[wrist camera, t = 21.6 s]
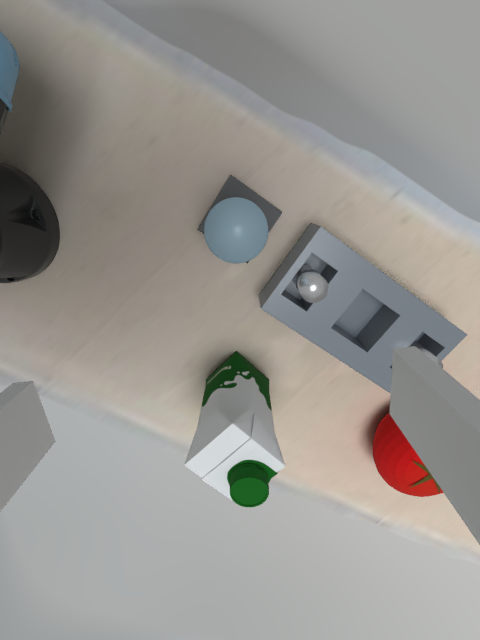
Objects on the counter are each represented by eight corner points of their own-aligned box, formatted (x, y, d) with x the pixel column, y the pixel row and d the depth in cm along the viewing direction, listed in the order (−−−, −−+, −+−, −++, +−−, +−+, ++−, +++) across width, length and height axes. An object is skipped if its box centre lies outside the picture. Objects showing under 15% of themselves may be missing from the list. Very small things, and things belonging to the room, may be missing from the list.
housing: (258, 295, 47) (260, 308, 41) (310, 223, 43) (320, 226, 38) (384, 378, 51) (402, 400, 45) (440, 318, 48) (467, 334, 42)
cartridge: (215, 201, 42) (199, 201, 27) (257, 196, 42) (265, 193, 27) (220, 244, 44) (208, 266, 29) (260, 239, 43) (270, 259, 28)
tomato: (426, 377, 51) (469, 419, 41) (461, 431, 54) (509, 482, 45) (346, 422, 54) (369, 471, 44) (384, 471, 57) (413, 527, 48)
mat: (197, 229, 44) (197, 229, 43) (230, 174, 41) (230, 174, 41) (247, 262, 45) (247, 263, 44) (281, 212, 43) (282, 212, 42)
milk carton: (238, 412, 53) (236, 527, 35) (197, 378, 51) (170, 481, 33) (277, 379, 51) (297, 481, 32) (235, 342, 49) (231, 429, 30)
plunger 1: (287, 279, 44) (294, 293, 37) (301, 259, 43) (312, 269, 36) (306, 292, 44) (316, 308, 38) (320, 273, 43) (334, 285, 37)
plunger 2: (387, 348, 47) (410, 371, 40) (403, 331, 46) (429, 352, 39) (404, 359, 47) (429, 384, 41) (420, 343, 46) (448, 365, 40)
